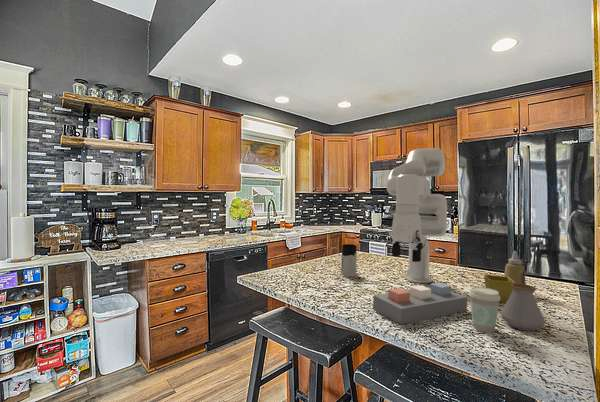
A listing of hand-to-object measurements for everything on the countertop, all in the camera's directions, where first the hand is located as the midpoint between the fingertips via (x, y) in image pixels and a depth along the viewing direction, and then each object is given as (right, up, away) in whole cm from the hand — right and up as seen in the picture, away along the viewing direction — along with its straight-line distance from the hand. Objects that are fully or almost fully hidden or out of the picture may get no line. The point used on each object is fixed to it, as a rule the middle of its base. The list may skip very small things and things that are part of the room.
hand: (405, 258), depth 105 cm
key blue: (+16, -16, +8) cm, 24 cm away
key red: (-3, -16, 0) cm, 16 cm away
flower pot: (+43, -20, +16) cm, 50 cm away
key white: (+6, -16, +4) cm, 18 cm away
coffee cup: (+21, -20, -11) cm, 31 cm away
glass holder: (-14, -18, +52) cm, 57 cm away
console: (+6, -19, +4) cm, 21 cm away
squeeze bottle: (+57, -20, +26) cm, 66 cm away
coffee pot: (+37, -20, -4) cm, 43 cm away
